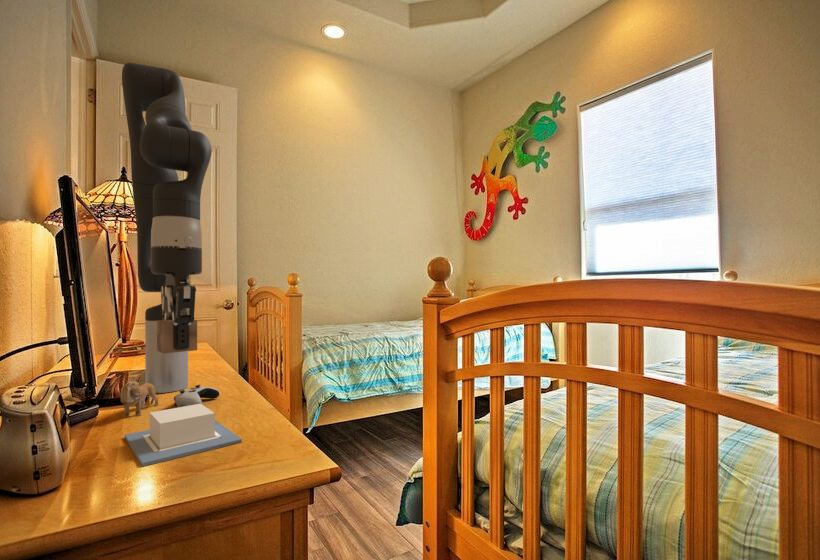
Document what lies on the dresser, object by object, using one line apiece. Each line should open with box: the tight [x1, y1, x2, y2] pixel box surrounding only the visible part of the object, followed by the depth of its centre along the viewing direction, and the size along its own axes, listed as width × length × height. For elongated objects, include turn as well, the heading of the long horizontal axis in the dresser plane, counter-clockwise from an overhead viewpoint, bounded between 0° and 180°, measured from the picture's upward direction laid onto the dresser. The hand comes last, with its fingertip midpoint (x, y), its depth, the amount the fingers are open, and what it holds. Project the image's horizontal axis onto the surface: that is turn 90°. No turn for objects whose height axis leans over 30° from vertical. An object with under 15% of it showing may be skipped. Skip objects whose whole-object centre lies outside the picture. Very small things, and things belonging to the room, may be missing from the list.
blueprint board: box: [124, 419, 243, 467], centre depth 71 cm, size 16×14×1 cm
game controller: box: [173, 384, 221, 408], centre depth 92 cm, size 10×5×6 cm
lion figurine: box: [119, 381, 159, 418], centre depth 88 cm, size 12×4×7 cm, turn 12°
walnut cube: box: [157, 319, 198, 354], centre depth 71 cm, size 5×5×5 cm
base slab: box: [149, 403, 216, 450], centre depth 71 cm, size 8×8×4 cm
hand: (177, 347), depth 71 cm, fingers closed on walnut cube, 5 cm apart
